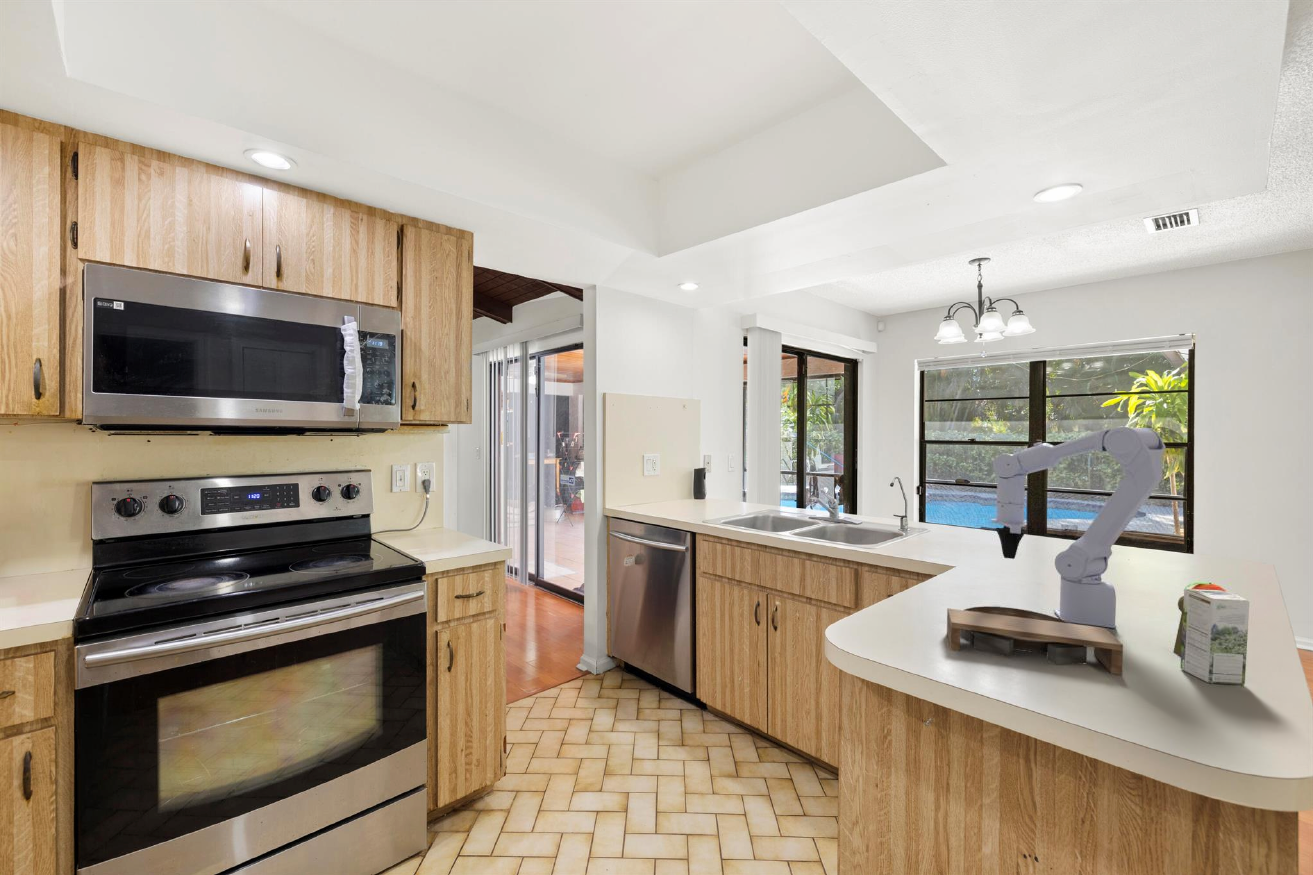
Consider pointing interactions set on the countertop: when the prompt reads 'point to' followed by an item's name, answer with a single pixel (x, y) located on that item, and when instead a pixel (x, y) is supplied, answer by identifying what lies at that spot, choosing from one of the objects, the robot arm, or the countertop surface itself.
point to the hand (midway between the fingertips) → (1009, 557)
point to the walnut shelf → (1036, 637)
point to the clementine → (1206, 586)
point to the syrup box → (1215, 636)
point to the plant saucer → (1021, 642)
